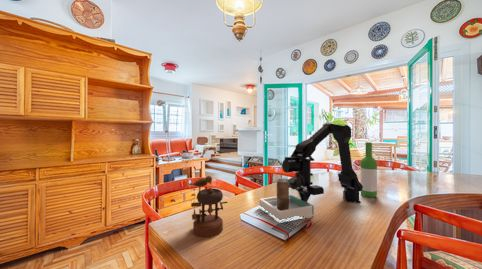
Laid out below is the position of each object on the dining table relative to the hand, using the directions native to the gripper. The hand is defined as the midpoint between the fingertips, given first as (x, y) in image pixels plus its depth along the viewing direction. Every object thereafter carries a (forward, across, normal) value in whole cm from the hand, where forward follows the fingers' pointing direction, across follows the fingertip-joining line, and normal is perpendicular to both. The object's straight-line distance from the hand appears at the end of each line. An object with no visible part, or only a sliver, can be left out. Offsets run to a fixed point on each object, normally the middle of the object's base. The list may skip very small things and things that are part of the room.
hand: (304, 204), depth 90 cm
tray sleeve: (+2, 0, -11) cm, 11 cm away
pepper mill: (+1, 0, -12) cm, 12 cm away
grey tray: (+2, 0, -9) cm, 9 cm away
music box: (+2, +3, -45) cm, 45 cm away
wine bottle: (+3, -2, +47) cm, 47 cm away
